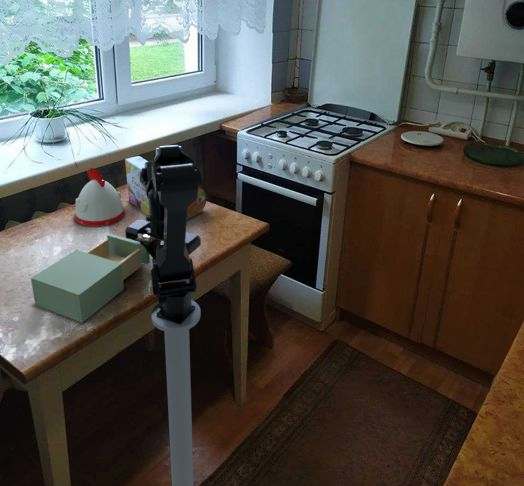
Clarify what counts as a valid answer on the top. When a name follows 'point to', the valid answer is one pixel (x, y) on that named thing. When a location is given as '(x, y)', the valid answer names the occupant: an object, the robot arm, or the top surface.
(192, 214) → the tin
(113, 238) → the drawer
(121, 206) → the kitchen timer
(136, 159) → the snack box
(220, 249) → the top surface
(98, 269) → the cabinet
